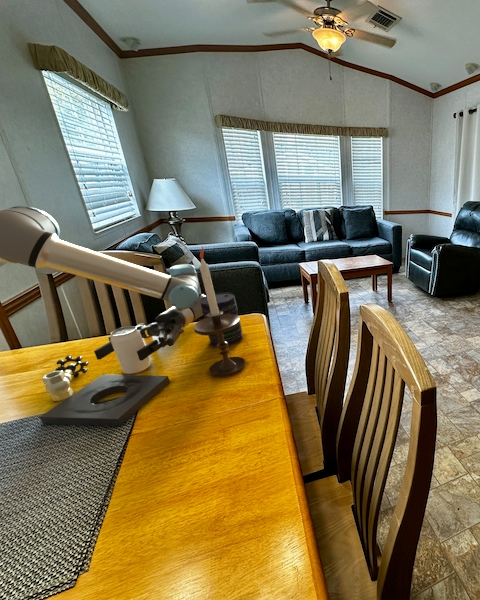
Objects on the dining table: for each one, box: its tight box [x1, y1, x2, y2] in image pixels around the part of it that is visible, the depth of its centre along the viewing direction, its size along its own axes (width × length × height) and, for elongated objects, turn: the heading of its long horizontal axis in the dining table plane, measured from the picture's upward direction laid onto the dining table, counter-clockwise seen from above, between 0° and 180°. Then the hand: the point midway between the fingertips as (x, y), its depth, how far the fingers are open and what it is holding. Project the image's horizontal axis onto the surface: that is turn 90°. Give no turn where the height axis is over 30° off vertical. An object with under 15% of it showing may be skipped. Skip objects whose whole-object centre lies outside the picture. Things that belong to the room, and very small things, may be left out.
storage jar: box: [200, 292, 244, 348], centre depth 105 cm, size 10×10×15 cm
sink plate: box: [39, 374, 171, 427], centre depth 80 cm, size 18×16×2 cm
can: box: [110, 325, 151, 375], centre depth 91 cm, size 6×6×12 cm
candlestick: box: [193, 246, 246, 378], centre depth 86 cm, size 11×11×35 cm
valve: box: [41, 354, 90, 402], centre depth 83 cm, size 7×7×12 cm
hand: (118, 355), depth 87 cm, fingers open, 11 cm apart
